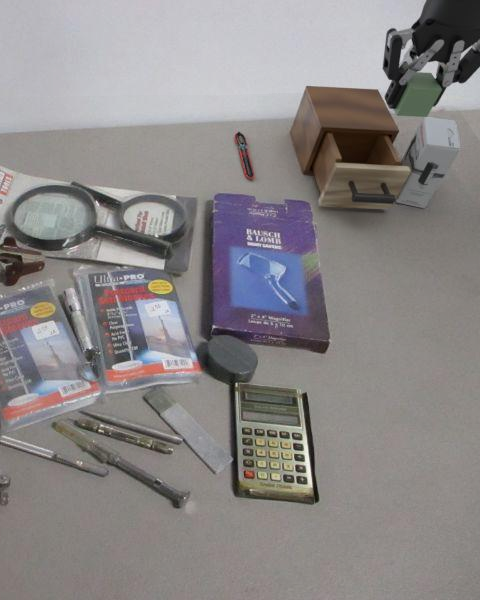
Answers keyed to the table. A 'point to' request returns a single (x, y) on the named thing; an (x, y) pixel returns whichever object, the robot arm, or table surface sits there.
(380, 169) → the drawer
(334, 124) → the cabinet
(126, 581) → the table surface
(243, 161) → the red black pliers
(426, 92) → the block
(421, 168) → the ink box
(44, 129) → the table surface
